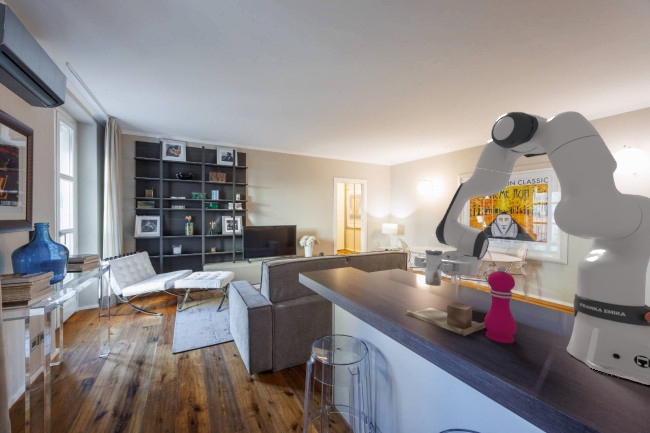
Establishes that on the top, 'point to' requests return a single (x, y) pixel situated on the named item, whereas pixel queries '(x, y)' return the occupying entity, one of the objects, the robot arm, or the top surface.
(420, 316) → the board
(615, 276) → the robot arm
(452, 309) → the walnut block
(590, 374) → the top surface
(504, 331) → the pepper mill
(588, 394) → the top surface
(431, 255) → the canister
